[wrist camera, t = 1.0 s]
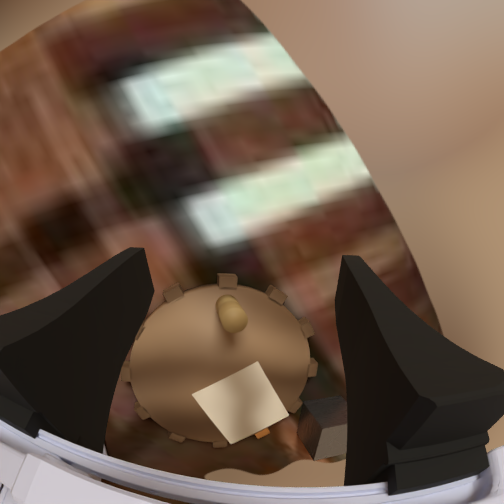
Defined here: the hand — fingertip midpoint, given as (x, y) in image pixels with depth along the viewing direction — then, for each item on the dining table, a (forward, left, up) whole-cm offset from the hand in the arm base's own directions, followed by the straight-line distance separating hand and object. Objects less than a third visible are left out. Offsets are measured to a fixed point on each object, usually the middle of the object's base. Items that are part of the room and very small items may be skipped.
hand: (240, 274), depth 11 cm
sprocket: (-12, -2, -14) cm, 18 cm away
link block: (-19, -13, -14) cm, 27 cm away
